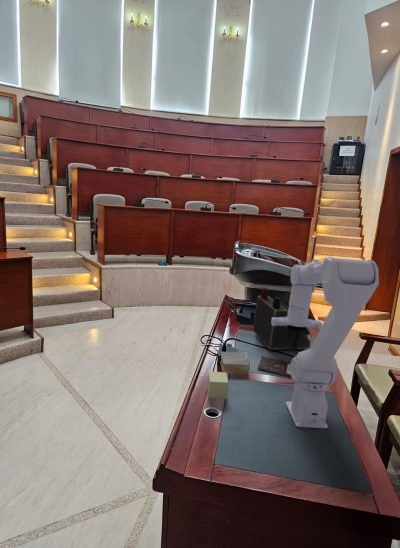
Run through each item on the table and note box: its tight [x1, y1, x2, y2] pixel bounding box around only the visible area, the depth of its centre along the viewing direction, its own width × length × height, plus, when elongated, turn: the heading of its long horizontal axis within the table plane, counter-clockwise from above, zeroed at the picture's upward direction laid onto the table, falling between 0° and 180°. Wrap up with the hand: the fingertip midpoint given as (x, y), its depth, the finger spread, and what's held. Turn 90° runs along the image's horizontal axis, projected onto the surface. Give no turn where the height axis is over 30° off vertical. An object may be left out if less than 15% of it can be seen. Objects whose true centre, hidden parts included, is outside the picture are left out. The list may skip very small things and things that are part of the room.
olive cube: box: [206, 371, 229, 400], centre depth 90 cm, size 5×5×5 cm
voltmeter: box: [252, 287, 312, 351], centre depth 125 cm, size 16×16×20 cm
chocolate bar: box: [257, 356, 292, 379], centre depth 107 cm, size 9×1×18 cm
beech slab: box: [219, 351, 250, 375], centre depth 105 cm, size 4×8×8 cm
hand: (292, 348), depth 98 cm, fingers closed
